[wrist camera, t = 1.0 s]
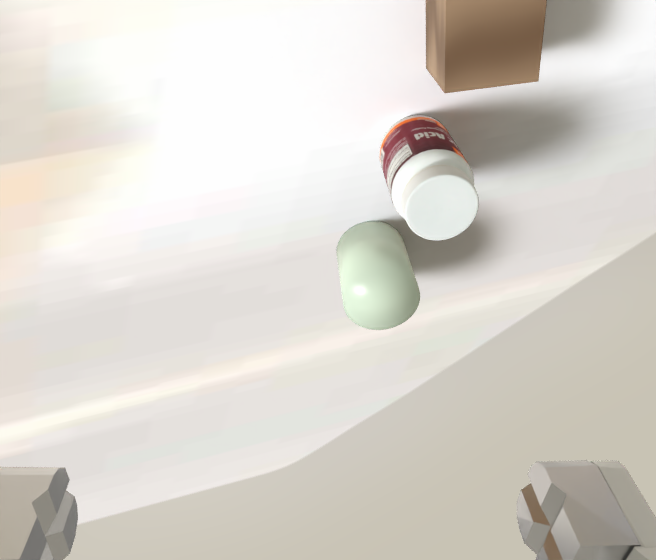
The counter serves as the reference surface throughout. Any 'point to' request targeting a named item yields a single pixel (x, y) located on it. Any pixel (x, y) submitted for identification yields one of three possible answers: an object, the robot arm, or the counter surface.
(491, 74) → the walnut cube
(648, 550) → the robot arm
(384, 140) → the pill bottle
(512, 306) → the counter surface
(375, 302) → the sage cylinder
